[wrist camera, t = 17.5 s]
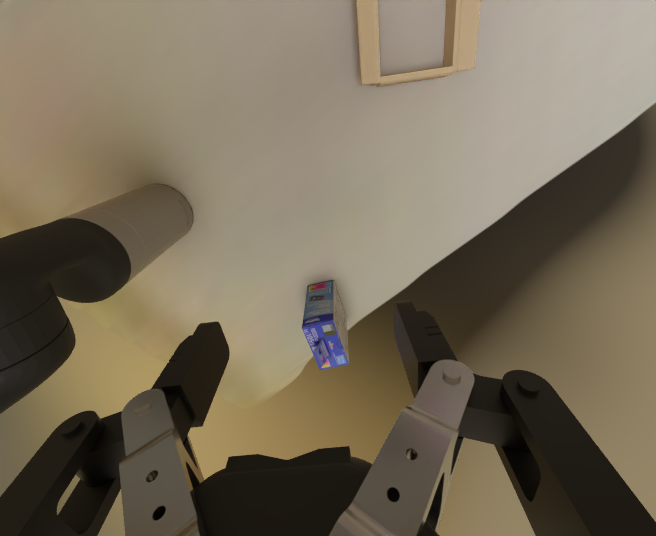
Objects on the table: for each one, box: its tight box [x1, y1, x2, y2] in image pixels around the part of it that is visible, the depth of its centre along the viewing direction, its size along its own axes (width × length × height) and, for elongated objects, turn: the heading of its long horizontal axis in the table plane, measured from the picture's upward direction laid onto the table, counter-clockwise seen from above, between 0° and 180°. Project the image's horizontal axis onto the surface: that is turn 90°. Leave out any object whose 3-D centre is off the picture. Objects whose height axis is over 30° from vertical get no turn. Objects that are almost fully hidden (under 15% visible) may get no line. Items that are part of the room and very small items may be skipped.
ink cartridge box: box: [302, 281, 349, 370], centre depth 50 cm, size 10×6×14 cm, turn 16°
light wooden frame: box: [356, 0, 481, 87], centre depth 34 cm, size 14×16×4 cm
